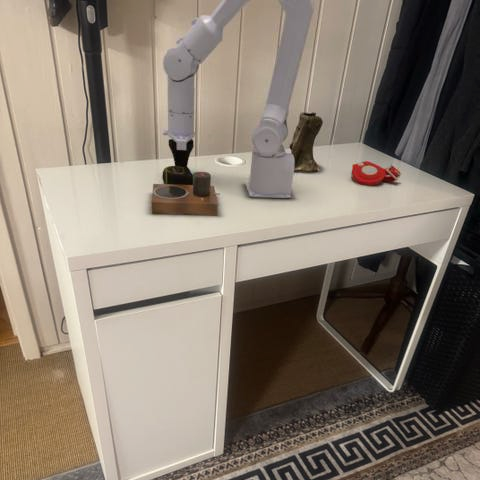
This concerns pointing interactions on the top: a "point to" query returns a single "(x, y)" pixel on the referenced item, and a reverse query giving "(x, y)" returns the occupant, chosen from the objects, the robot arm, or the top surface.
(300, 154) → the tree stump
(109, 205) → the top surface
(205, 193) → the dial
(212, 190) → the warmer
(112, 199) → the top surface
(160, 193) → the heating plate
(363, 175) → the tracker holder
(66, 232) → the top surface
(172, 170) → the tape measure
